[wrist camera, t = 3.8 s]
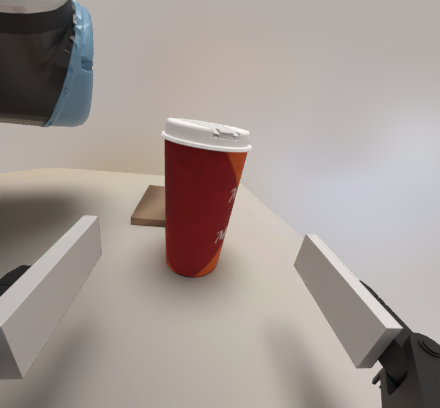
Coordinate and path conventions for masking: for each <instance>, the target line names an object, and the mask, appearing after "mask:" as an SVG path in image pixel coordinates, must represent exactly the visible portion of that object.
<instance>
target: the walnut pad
mask: <svg viewBox="0 0 440 408" xmlns="http://www.w3.org/2000/svg"><path fill="white" fill-rule="evenodd" d="M131 224H135V225H148V226H161V227H165V187H163V186H154V185H149V187H148V188H147V190H146V192H145V194H144V195H143V197H142V199H141V201H140V202H139V204H138V206H137V207H136V209H135V211H134V213H133V214H132V216H131Z"/></svg>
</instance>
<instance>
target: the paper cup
mask: <svg viewBox="0 0 440 408" xmlns="http://www.w3.org/2000/svg"><path fill="white" fill-rule="evenodd" d="M161 137H163V138H164V139H165V237H166V260H167V264H168V266H169V267H170V268H171V269H172V270H173V271H174V272H176V273H177V274H180V275H182V276H187V277H200V276H204V275H206V274H208V273H210V272H211V271H212V270H213V269H214V268H215V266H216V264H217V261H218V258H219V255H220V251H221V248H222V244H223V241H224V237H225V234H226V230H227V226H228V223H229V219H230V215H231V212H232V208H233V204H234V200H235V197H236V193H237V189H238V186H239V182H240V178H241V174H242V170H243V167H244V163H245V160H246V156H247V152H249V151H251V150H252V147H251V145H250V144H249V142H250V133H249V132H248V131H246V130H243V129H239V128H235V127H231V126H226V125H225V127H224V125H221V124H215V123H210V122H203V121H197V120H190V119H180V118H169V119H168V120H167V123H166V128H165V131H162V133H161Z"/></svg>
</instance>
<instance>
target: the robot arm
mask: <svg viewBox="0 0 440 408" xmlns="http://www.w3.org/2000/svg"><path fill="white" fill-rule="evenodd" d="M92 66H93V29H92V22H91V16H90V14H89V12H88V10H87V9H86V8H84V7H83V6H81V5H80V4H79V3H78V2H76V1H75V0H0V122H3V123H14V124H23V125H34V126H41V127H49V126H66V127H67V126H68V127H75V126H79V125H82V124H83V123H84V122H85V121H86V120H87V118H88V116H89V112H90V107H91V98H92V86H93V70H92ZM101 255H102V250H101V239H100V229H99V218H98V216H88V215H84V216H83V217H82V218H80V219H79V220H78V221H77V222H76V223H75V224H74V225H73V226H72V227H71V228H70V229H69V230H68V231H67V232H66V233H65V234H64V235H63V236H62V237H61V238H60V239H59V240H58V241H57V242H56V243H55V244H54V245H53V246H52V247H51V248H50V249H49V250H48V251H47V252H46V253H45V254H44V255H43V256H42V257H41V258H40V259H39V260H38V261H37V262H35V263H34V264H33V265H32V266H27V265H21V266H20V267H18V268H16V269H14V270H12V271H11V272H9V273H7V274H6V275H5V276H3V277H2V278H1V279H0V379H23V378H24V377H25V375H26V374H27V372H28V370H29V369H30V367H31V366H32V364H33V363H34V361H35V359H36V358H37V356H38V355H39V353H40V351H41V350H42V348H43V347H44V345H45V344H46V342H47V340H48V339H49V337H50V336H51V334H52V332H53V331H54V329H55V328H56V326H57V325H58V323H59V321H60V320H61V318H62V317H63V315H64V314H65V312H66V310H67V309H68V307H69V306H70V304H71V302H72V301H73V299H74V298H75V296H76V295H77V293H78V291H79V290H80V288H81V287H82V285H83V284H84V282H85V280H86V279H87V277H88V276H89V274H90V272H91V271H92V269H93V268H94V266H95V265H96V263H97V261H98V260H99V258H100V257H101ZM294 267H295V268H296V270H297V272H298V273H299V275H300V277H301V278H302V280H303V281H304V283H305V285H306V286H307V288H308V290H309V291H310V293H311V295H312V296H313V298H314V300H315V301H316V303H317V304H318V306H319V308H320V309H321V311H322V313H323V314H324V316H325V318H326V319H327V321H328V323H329V324H330V326H331V327H332V329H333V331H334V332H335V334H336V336H337V337H338V339H339V341H340V342H341V344H342V346H343V347H344V349H345V350H346V352H347V354H348V355H349V357H350V359H351V360H352V362H353V364H354V365H355V367H356V368H372V367H373V365H374V364H375V363H376V362H377V360H379V362H380V363H381V365H382V366H383V368H382V369H381V370H380V371H379V372H378V374H377V375H376V376H375V377H374V378H373V381H372V383H373V384H374V385H375V384H376V383H377V382H378V381H379V380H380V381H381V385H380V386H379V388H380V389H381V398H382V408H440V345H439V344H437V343H436V342H435V341H433V340H432V339H430V338H429V337H427V336H424V335H422V334H420V333H413V332H412V331H411V330H410V329H409V328H408V327H407V326H406V325H405V324H404V322H403V321H402V320H401V319H399V317H398V316H397V315H396V314H395V313H394V312H393V311H392V310H391V309H390V308H389V307H388V306H387V305H385V303H384V302H383V300H382V299H381V298H379V297H378V295H377V294H376V293H375V292H374V291H373V290H372V289H371V288H370V287H368V286H367V285H366V284H364V283H363V282H362V281H360V280H358V279H357V278H356V277H355V276H354V275H353V274H352V273H351V272H350V271H349V270H348V269H347V267H346V266H345V265H344V264H343V263H342V262H341V261H340V260H339V259H338V258H337V257H336V255H335V254H333V252H332V251H331V250H330V249H329V248H328V247H327V246H326V245H325V244H324V243H323V241H322V240H320V238H319V237H318V236H317V235H313V234H306V235H305V238H304V240H303V243H302V245H301V248H300V251H299V253H298V256H297V258H296V261H295V263H294Z"/></svg>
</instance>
